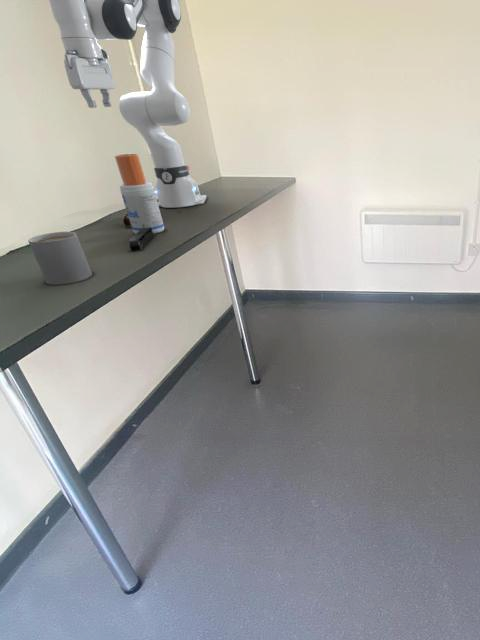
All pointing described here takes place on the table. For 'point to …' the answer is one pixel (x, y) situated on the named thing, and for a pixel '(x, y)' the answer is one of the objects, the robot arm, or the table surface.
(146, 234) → the black bar
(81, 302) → the table surface
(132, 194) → the supplement tub
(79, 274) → the coffee mug
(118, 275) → the table surface
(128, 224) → the sunglasses case
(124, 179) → the cup
